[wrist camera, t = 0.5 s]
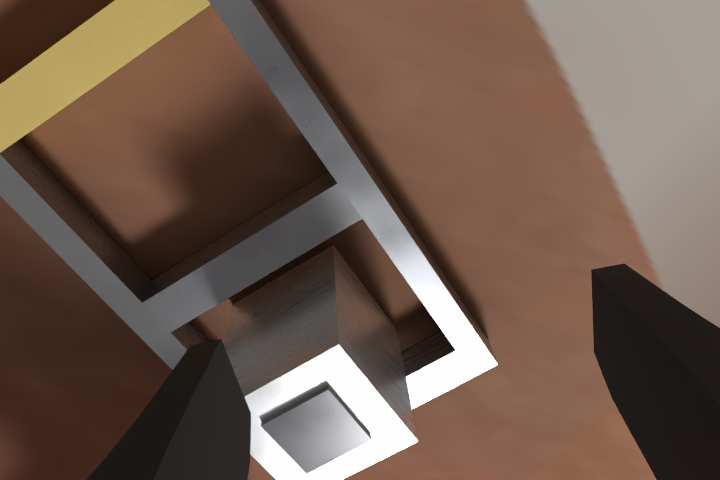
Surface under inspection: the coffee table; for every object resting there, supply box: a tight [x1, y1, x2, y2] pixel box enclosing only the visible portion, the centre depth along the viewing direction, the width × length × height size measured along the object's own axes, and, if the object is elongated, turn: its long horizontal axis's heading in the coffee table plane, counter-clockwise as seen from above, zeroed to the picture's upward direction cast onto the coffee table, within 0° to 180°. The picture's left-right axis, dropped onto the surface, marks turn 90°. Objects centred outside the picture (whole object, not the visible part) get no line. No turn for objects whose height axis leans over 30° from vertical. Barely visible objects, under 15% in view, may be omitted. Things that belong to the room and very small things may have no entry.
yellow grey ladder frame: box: [0, 0, 498, 409], centre depth 22 cm, size 10×26×2 cm, turn 32°
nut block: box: [224, 245, 418, 480], centre depth 23 cm, size 4×4×6 cm
